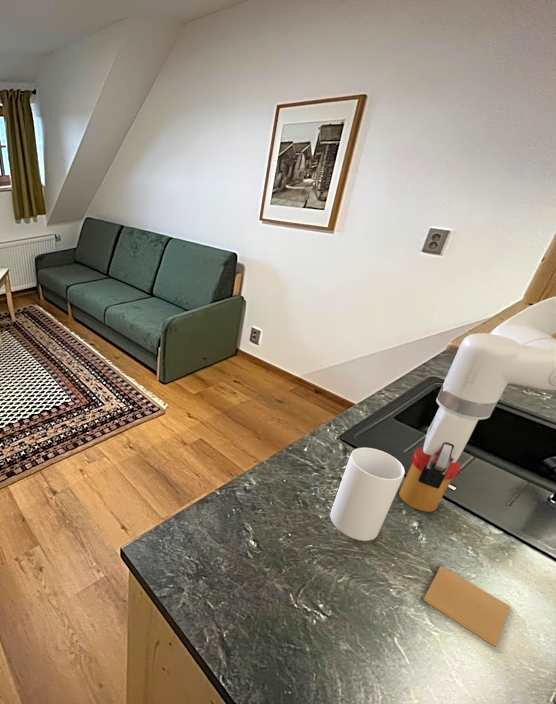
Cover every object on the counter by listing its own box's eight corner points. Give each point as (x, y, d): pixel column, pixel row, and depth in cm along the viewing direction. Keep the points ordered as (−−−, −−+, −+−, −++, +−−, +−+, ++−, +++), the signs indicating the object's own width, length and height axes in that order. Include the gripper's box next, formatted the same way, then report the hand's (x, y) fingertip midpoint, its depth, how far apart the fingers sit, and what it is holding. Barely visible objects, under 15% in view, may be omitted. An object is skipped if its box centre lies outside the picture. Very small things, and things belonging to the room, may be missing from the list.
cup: (331, 500, 85) (350, 442, 77) (377, 515, 81) (403, 456, 73) (328, 529, 79) (350, 469, 71) (379, 547, 75) (407, 486, 67)
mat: (509, 607, 65) (510, 606, 64) (495, 647, 60) (496, 645, 60) (439, 567, 71) (440, 565, 71) (422, 600, 66) (423, 598, 66)
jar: (441, 500, 83) (461, 462, 78) (431, 517, 80) (451, 478, 75) (405, 482, 88) (421, 445, 83) (394, 497, 84) (410, 460, 79)
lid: (414, 449, 84) (417, 442, 83) (458, 464, 80) (461, 457, 79) (409, 468, 79) (412, 461, 78) (455, 485, 75) (459, 478, 74)
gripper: (443, 373, 80) (413, 442, 88) (433, 415, 69) (400, 489, 77) (494, 386, 75) (458, 457, 84) (493, 433, 64) (450, 510, 72)
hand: (430, 472), depth 80 cm, fingers closed on lid, 7 cm apart
